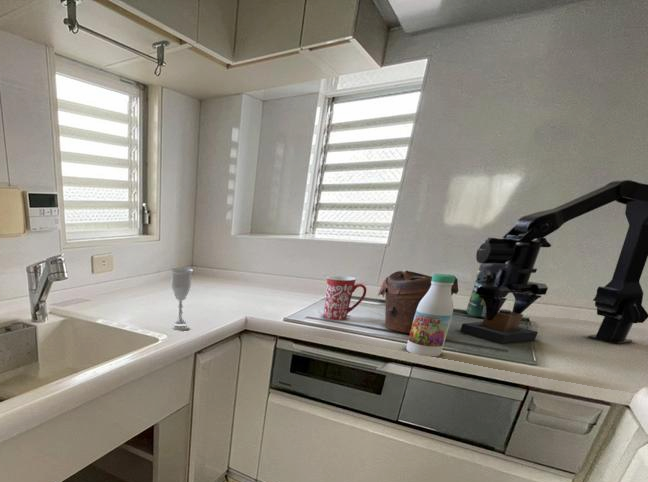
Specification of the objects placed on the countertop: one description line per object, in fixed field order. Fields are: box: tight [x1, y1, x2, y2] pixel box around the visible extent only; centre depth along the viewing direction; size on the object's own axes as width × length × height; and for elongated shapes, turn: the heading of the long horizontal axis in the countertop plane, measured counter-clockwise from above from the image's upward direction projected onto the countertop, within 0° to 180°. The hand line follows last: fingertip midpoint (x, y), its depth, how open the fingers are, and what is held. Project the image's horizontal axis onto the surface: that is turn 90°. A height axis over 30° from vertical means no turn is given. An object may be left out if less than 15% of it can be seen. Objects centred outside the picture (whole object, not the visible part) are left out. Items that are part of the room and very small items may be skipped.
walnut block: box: [482, 308, 524, 332], centre depth 117 cm, size 5×6×8 cm
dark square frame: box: [459, 321, 539, 344], centre depth 118 cm, size 12×12×2 cm
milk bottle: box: [406, 273, 456, 358], centre depth 101 cm, size 8×8×20 cm
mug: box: [323, 275, 367, 321], centre depth 135 cm, size 13×9×14 cm
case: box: [377, 269, 459, 335], centre depth 122 cm, size 18×20×18 cm
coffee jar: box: [466, 262, 507, 319], centre depth 136 cm, size 10×8×19 cm
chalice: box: [169, 267, 194, 331], centre depth 124 cm, size 7×7×18 cm
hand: (501, 319), depth 117 cm, fingers open, 9 cm apart
